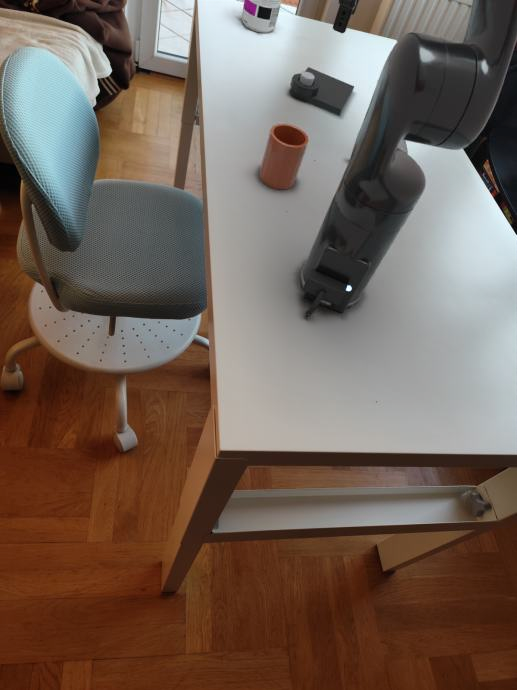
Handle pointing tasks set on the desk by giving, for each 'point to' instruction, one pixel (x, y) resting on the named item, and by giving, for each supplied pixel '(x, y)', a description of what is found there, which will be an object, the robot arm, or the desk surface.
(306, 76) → the button
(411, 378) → the desk surface
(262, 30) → the supplement can
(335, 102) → the scale
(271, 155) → the terracotta flower pot
